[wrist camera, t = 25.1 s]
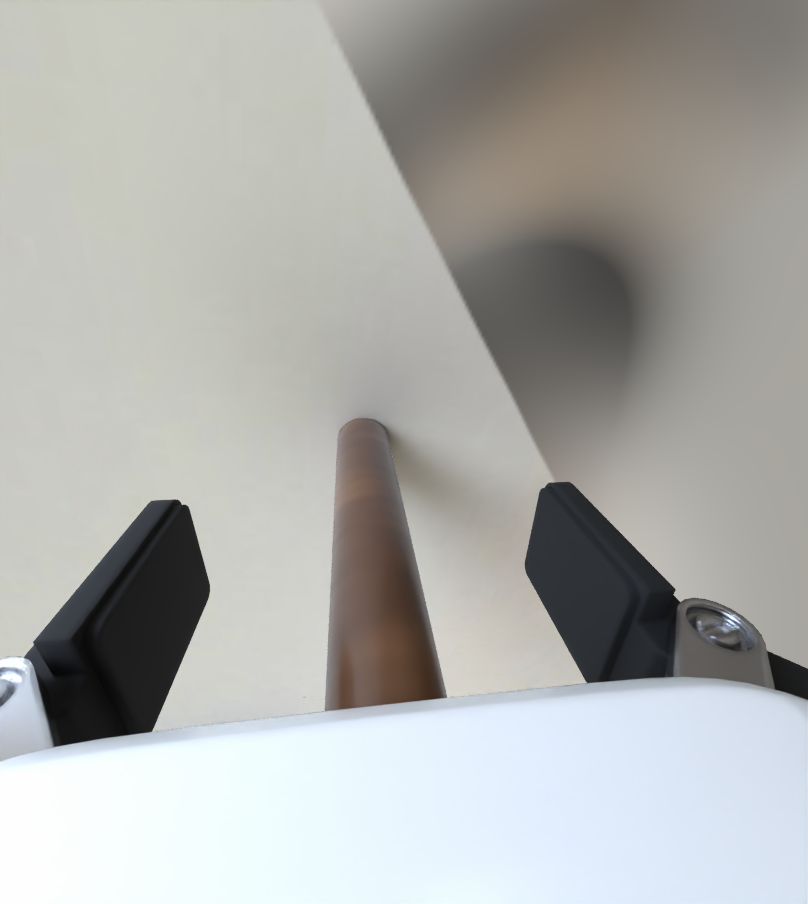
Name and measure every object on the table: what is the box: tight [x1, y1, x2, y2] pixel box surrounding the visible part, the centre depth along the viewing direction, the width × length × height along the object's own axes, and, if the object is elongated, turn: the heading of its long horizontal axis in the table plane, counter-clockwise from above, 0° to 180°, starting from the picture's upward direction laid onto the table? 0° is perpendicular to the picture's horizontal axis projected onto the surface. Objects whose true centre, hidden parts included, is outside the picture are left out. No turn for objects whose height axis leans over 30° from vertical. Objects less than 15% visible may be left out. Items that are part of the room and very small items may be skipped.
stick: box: [325, 418, 447, 711], centre depth 14 cm, size 3×3×14 cm
